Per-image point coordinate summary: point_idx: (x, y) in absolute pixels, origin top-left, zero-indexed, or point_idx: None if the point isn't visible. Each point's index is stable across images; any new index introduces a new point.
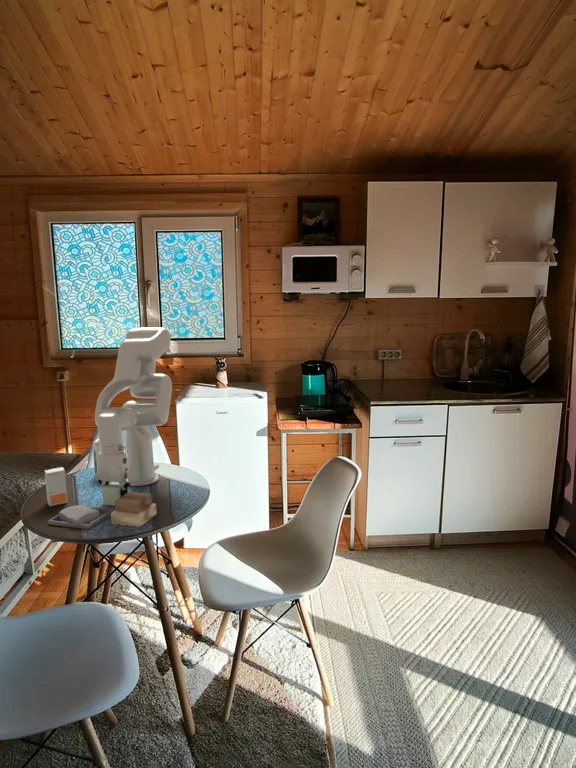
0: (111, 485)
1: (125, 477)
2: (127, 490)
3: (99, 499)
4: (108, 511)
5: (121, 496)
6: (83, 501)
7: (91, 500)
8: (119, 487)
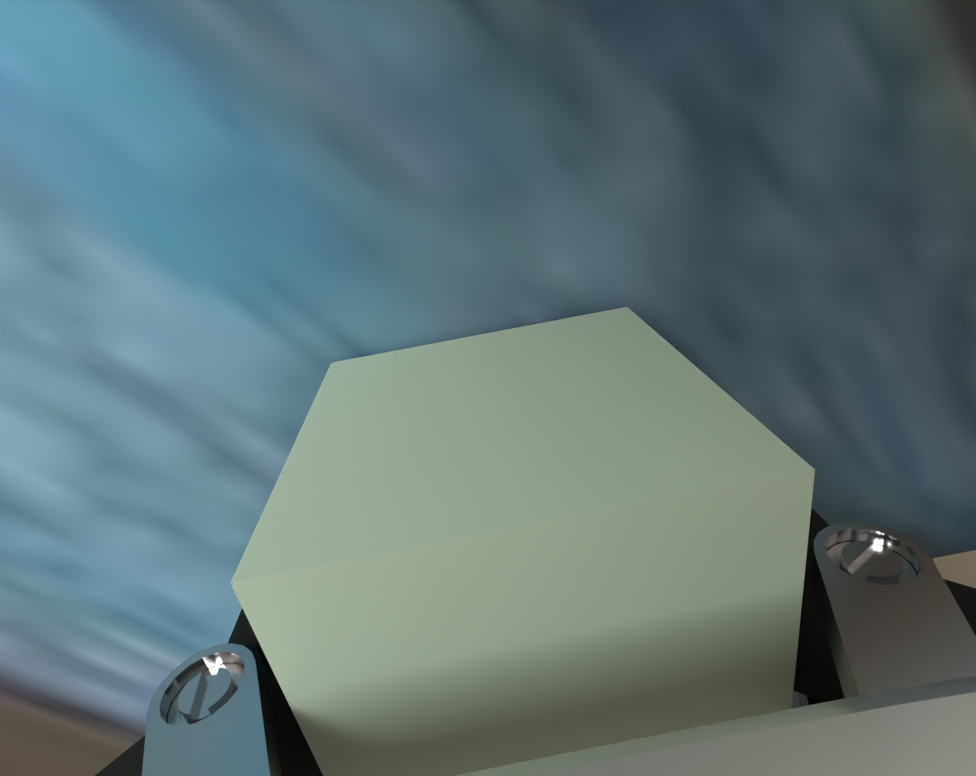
0: (468, 753)
1: (968, 714)
2: (815, 518)
3: (157, 494)
4: None
5: None
6: (21, 628)
7: (86, 564)
8: None
